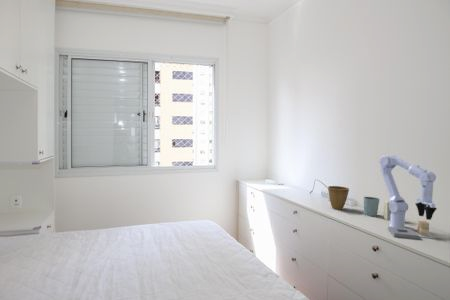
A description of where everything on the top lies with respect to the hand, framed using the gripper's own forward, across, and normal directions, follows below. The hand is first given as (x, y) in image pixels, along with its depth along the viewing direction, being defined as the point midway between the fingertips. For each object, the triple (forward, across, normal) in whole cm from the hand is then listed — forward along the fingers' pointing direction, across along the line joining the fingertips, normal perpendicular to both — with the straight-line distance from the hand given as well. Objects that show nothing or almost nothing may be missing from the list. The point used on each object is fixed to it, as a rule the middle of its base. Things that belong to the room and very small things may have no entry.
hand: (424, 217), depth 179 cm
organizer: (+10, +1, -12) cm, 15 cm away
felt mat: (+10, +1, 0) cm, 10 cm away
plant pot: (+10, -60, -31) cm, 68 cm away
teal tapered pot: (+10, -44, -13) cm, 47 cm away
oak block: (+9, +1, -1) cm, 9 cm away
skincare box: (+10, -34, -4) cm, 35 cm away
